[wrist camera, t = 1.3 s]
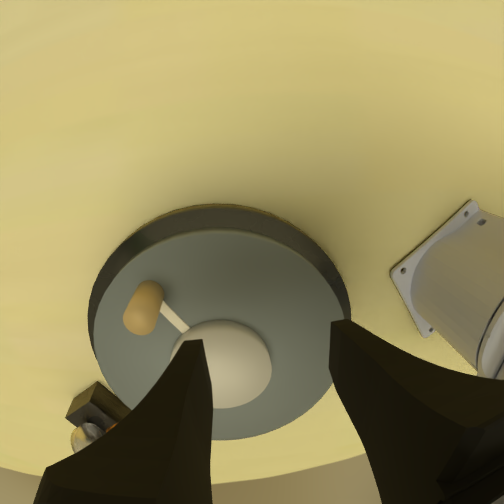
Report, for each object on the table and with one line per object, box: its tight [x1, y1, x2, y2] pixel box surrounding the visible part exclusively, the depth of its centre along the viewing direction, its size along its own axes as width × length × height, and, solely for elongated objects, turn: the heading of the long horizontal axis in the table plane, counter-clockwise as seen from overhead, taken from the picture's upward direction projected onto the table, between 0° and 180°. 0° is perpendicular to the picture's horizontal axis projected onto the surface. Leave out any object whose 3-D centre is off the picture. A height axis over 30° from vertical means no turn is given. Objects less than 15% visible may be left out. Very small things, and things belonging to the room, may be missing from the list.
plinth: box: [88, 204, 351, 359], centre depth 21 cm, size 18×18×2 cm
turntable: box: [93, 227, 344, 440], centre depth 18 cm, size 16×16×4 cm
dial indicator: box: [65, 381, 132, 453], centre depth 21 cm, size 6×5×6 cm
